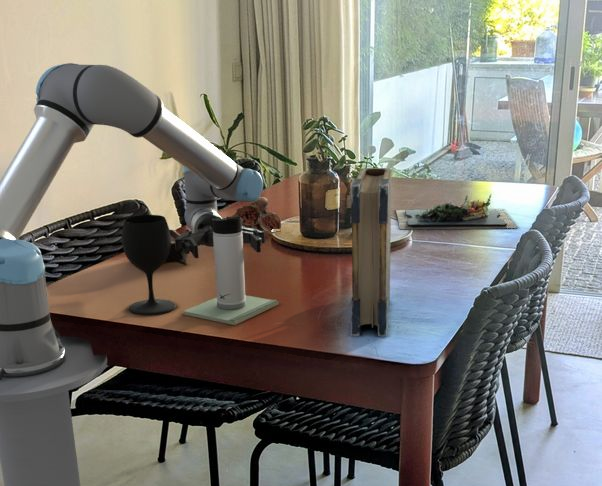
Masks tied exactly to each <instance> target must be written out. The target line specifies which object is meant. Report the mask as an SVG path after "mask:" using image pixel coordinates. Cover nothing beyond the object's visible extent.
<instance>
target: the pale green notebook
mask: <svg viewBox="0 0 602 486" xmlns="http://www.w3.org/2000/svg"><path fill="white" fill-rule="evenodd" d="M245 299H246V305H245V306H244V307H242V308H240V309H235V310H225V309H221V308H219V307H218V306H217V296H216V297H214V298H211V299H209V300H207V301H204V302H202V303H199V304H197V305H195V306H192V307H190V308H187V309H185V310H183V311H182V312H183V314H182V315H184V316H188V317H193V318H197V319H203V320H207V321H211V322H218V323H222V324H228V325H230V326H231V325H232V326H236V325H239V324H240V323H242V322H245V321H247V320H250V319H251V318H253V317H255V316H258V315H260V314H262V313H264V312H266V311H269V310H270V309H272V308H275V307H277V306H279V305H280V304H279V302H280V301H279V300H278V299H268V298H262V297H258V296H252V295H248V294H247V295H246V294H245Z"/></svg>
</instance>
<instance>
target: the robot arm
mask: <svg viewBox="0 0 602 486" xmlns="http://www.w3.org/2000/svg"><path fill="white" fill-rule="evenodd" d="M35 94H36V104H35V105H34V107H33V112H34V115H35V121H34V123H33V124H32V127H31V128H30V130H29V132H28V133H27V135H26V137H25V138H24V140H23V142H22V143H21V145H20V146H19V148H18V150H17V151H16V153H15V155H14V157H13V158H12V160H11V161H10V163H9V165H8V167H7V168H6V169H5V171H4V173H3V175H2V177H1V178H0V380H2V378H20V377H29V376H34V375H39V374H42V373H46V372H49V371H51V370H53V369H55V368H57V367H59V366H60V365H62V364H63V363H64V361H65V350H64V347H63V345H62V343H61V341H60V339H59V337H61V335H60V333H59V332H58V331H57V330H56V329H55V327H54V326H53V323H52V320H51V313H50V311H51V310H50V304H49V296H48V289H47V282H46V281H47V280H46V273H45V271H46V265H45V263H44V259H43V255H42V251H41V250H40V248H39V247H38V246H37V245H36V244H34V243H33V242H30V241H28V240H24V239H20V238H21V236H22V234H23V232H24V230H25V229H26V227H27V226H28V224H29V222H30V220H31V219H32V217H33V214H34V213H35V211H36V210H37V209H38V206H39V205H40V203H41V201H42V199H43V198H44V196H45V195H46V193H47V191H48V189H49V187H50V186H51V184H52V182H53V181H54V179H55V177H56V175H57V173H58V172H59V170H60V168H61V167H62V165H63V163H64V162H65V160H66V158H67V157H68V155H69V153H70V151H71V150H72V148H73V146H74V144H77V143H81V142H85V140H86V139H87V138H88V136H89V134H90V133H91V131H92V129H93V128H94V126H96V125H99V126H107V127H112V128H115V129H119V130H122V131H124V132H126V133H128V134H129V135H130V136H132V137H133V138H137V139H138V138H143V139H145V140H146V141H148V142H149V143H150V144H151V145H153V146H155V147H156V148H157V149H158V150H160V151H162V152H163V153H165V154H166V155H168V156H169V157H170V158H172V159H173V160H174V161H176V162H177V163H179V164H180V165H182V167H183V180H184V193H185V194H184V195H185V211H184V221H185V224H186V226H187V227H188V229H187V228H186V229H183V233H181V234H180V236H179V237H177V238H176V239H175V247H176V251H180V250H182V249H183V248H184V252H185V254H186V255H189V254H191V255H192V256H193V258H194V259H199V247H201V246H205V247H208V248H214V242H213V221H212V220H213V219H215V218H219V219H222V218H223V217H222V216H221V215H220V214H219V213H218V200H217V199H224V200H230V201H235V202H239V203H249V202H253V201H255V200H257V199H258V198H259V196H261V195H262V192H263V189H264V181H263V177H262V175H261V174H260V172H258V171H257V170H254V169H251V168H248V167H247V168H245V167H243V166H241V165H239V163H236V162H235V161H234V160H232V158H230V157H229V156H227V155H226V154H225V153H224V152H222V151H221V150H220V149H218V148H217V147H216V146H214V145H213V144H212V143H211V142H209V140H207V139H205V138H204V137H203V136H202V135H201V134H199V133H198V132H196V131H195V130H194V129H193V128H192V127H190V126H189V125H187V124H186V123H185V122H184V121H182V120H181V119H180V118H178V117H177V116H176V115H175V114H173V113H172V112H171V111H170V110H168V109H167V108H166V107H164V103H163V100H162V99H161V97H159V96H158V95H157V93H154V92H153V91H152V90H151V89H149V88H148V87H147V86H145V85H144V84H143V83H141V82H140V81H138V80H137V79H135V78H134V77H132V75H129V74H128V73H126V72H124V71H123V70H122V69H121V70H120V69H118V68H117V67H114V66H110V65H107V64H79V63H73V62H68V63H61V64H57V65H54V66H51V67H50V68H48V69H46V70H45V71H44V72H43V73H42V74H41V76H40V77H39V79H38V82H37V83H36V88H35ZM241 227H242V234H243V244H248V245H250V247H251V248H252V249H253V250H254V251H255V252H256V253H258V254H259V253H262V251H261V250H262V249H261V246H262V244H265V243H266V231H260V230H257V229H256V230H255V229H251V228H247V227H244V226H241ZM58 336H59V337H58Z"/></svg>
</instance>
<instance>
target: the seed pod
mask: <svg viewBox="0 0 602 486" xmlns="http://www.w3.org/2000/svg"><path fill="white" fill-rule="evenodd" d="M268 205H269V201H268V198H266V197H263V196H261V195H260V196H259V198H258V199H257V200H255V201H253V202H247V204H245V205H242V206H241V207H238V208H237V209H236V212H235V213H234V215H232V217H241V218H242V226H244V227H247V228H251V229H255V230H256V229H257V230H260V231H264V232H265V233H268V234H275V233H276V234H277V233H282V231H281V228H282V222H281V218H280V217H279V215H278V214H277V213H275V212H273V211H268V207H269V206H268ZM272 229H280V231H276V232H271V230H272Z"/></svg>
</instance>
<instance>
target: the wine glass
mask: <svg viewBox="0 0 602 486" xmlns="http://www.w3.org/2000/svg"><path fill="white" fill-rule="evenodd" d="M121 230H122V231H121V244H122V249H123V252H124V255H125V256H126V258H127V260H128V261H129V262H130V263H131V264H132V265H133V266H134V267H135V268H137V269H138V270H139V271H140V272H143V273H144V274H145V276H146V280H147V286H148V299H145V300H140V301H137V302H134V303H132V304H131V305H129V306H128V311H129V312H130V313H132V314H134V315H139V316H158V315H163V314H168V313H170V312H172V311H174V310H175V309H176V306H177V305H176V303H175V302H174V301H172V300H169V299H161V298H156V297H155V294H154V285H153V283H154V281H153V278H154V273H155V272H156V271H157V270H158V269H160V268H161V267H162V265H164V263H166V262H165V261H166V259H167V257H168V255H169V253H170V249H171V235H170V227H169V225H168V222H167V219H166V217H165V215H164V216H163V215H161V214H139V215H138V214H137V215H133V216H129V217H126V218H125V219H124V220H123V224H122V229H121Z"/></svg>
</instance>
